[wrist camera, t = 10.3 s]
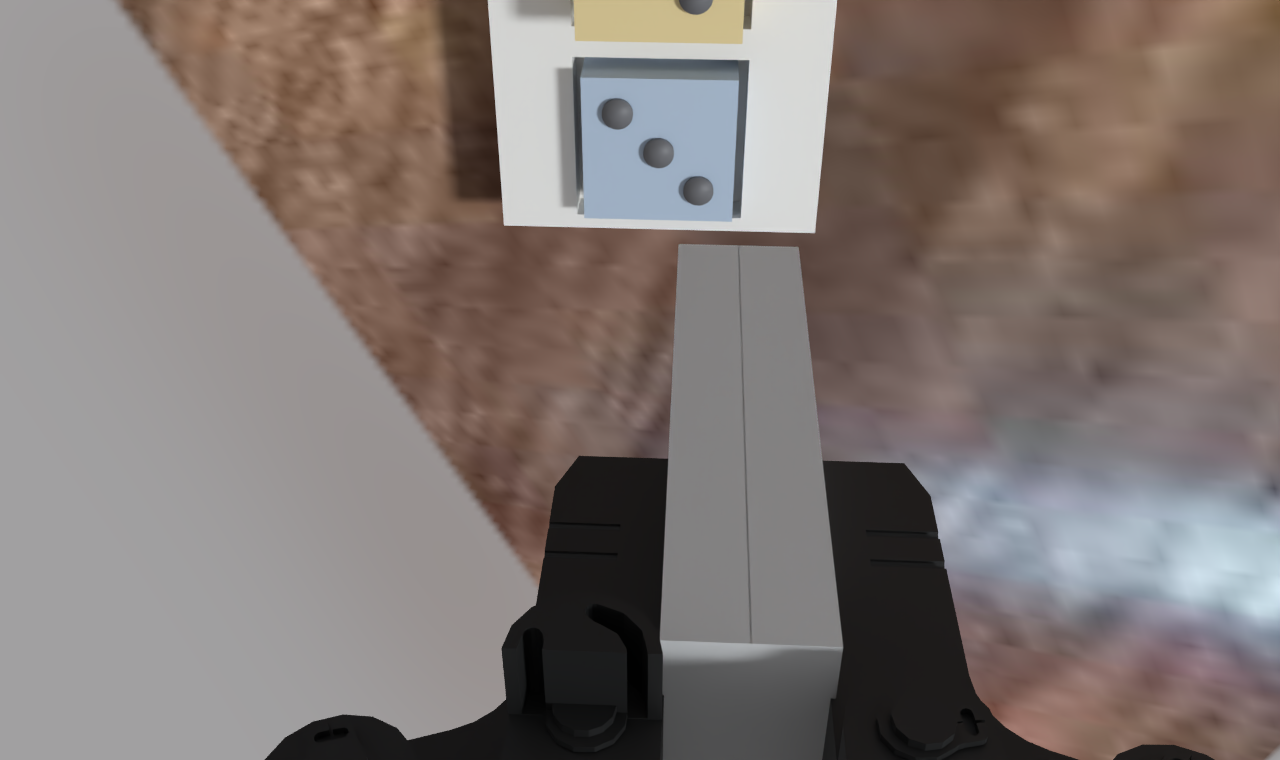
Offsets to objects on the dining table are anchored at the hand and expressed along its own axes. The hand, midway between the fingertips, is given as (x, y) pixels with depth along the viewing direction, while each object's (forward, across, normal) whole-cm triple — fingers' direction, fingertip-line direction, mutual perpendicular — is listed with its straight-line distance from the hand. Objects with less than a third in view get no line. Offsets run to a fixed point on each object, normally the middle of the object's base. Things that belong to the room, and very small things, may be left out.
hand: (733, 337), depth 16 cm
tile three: (+33, -2, -12) cm, 36 cm away
